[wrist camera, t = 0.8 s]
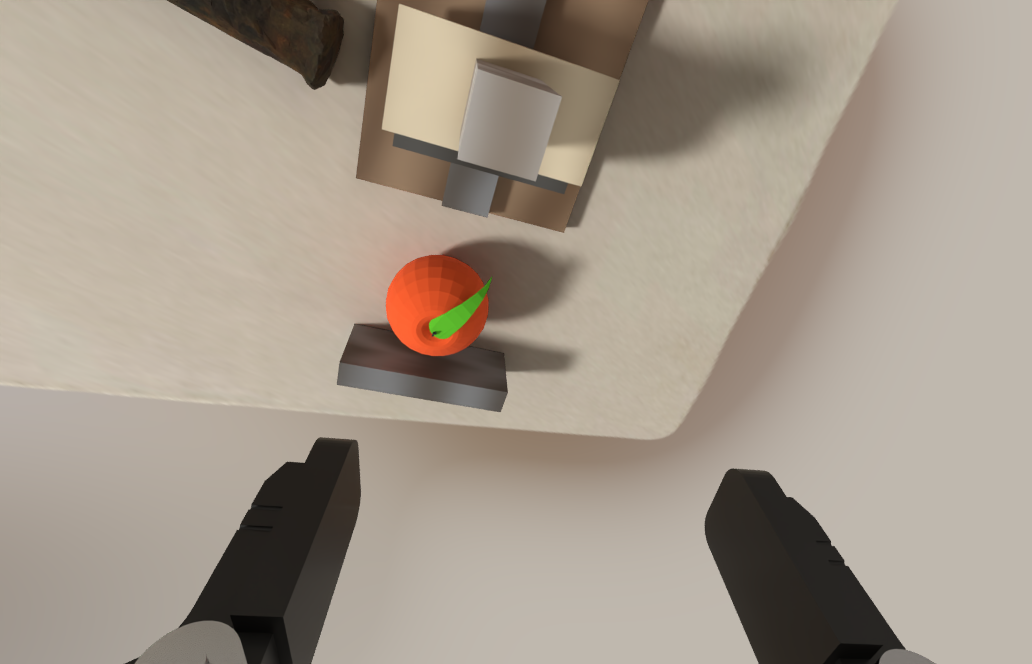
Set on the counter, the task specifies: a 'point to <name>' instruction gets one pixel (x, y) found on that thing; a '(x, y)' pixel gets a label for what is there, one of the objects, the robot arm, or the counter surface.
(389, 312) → the clementine
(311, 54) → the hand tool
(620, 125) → the counter surface
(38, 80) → the counter surface
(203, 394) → the counter surface
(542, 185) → the jaw
